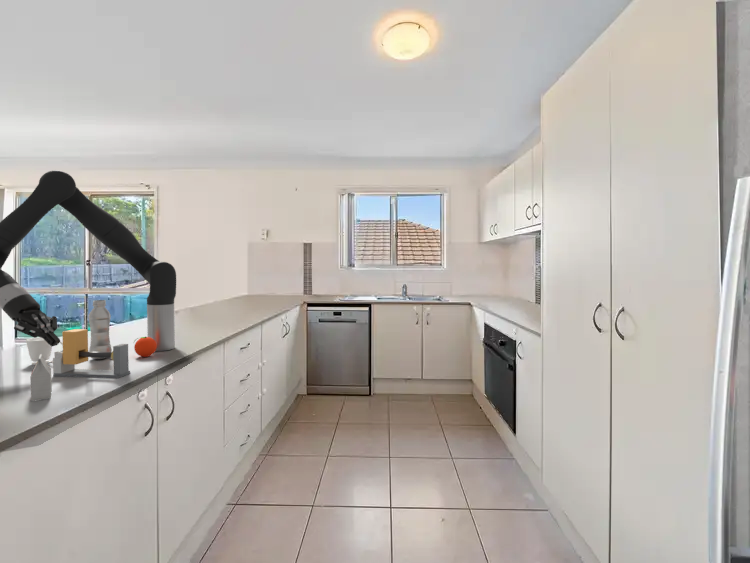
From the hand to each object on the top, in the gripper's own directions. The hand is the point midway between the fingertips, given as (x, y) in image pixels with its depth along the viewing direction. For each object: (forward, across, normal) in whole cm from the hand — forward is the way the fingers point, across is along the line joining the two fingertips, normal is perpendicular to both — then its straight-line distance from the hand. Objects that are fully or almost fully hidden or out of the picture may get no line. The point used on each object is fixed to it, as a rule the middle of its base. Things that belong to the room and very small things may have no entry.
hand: (56, 343), depth 123 cm
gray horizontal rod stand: (+14, 0, -2) cm, 14 cm away
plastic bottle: (+6, +19, +7) cm, 21 cm away
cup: (-4, +12, +16) cm, 21 cm away
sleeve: (+8, 0, 0) cm, 8 cm away
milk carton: (+16, -19, -3) cm, 25 cm away
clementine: (+15, +24, -2) cm, 28 cm away
